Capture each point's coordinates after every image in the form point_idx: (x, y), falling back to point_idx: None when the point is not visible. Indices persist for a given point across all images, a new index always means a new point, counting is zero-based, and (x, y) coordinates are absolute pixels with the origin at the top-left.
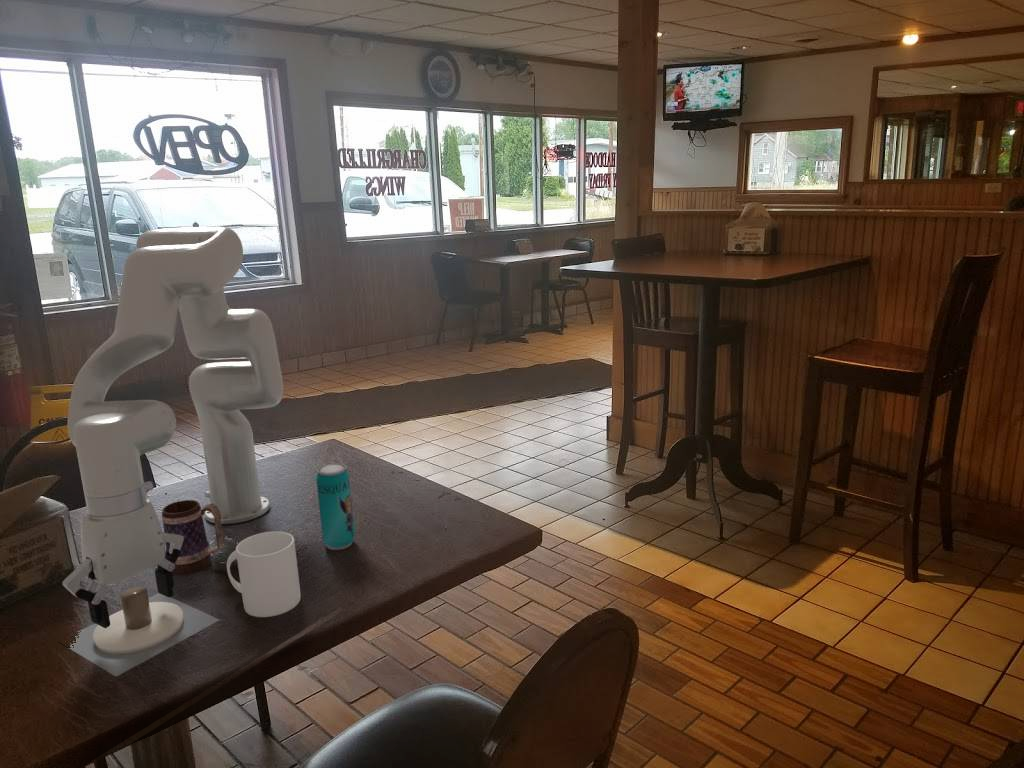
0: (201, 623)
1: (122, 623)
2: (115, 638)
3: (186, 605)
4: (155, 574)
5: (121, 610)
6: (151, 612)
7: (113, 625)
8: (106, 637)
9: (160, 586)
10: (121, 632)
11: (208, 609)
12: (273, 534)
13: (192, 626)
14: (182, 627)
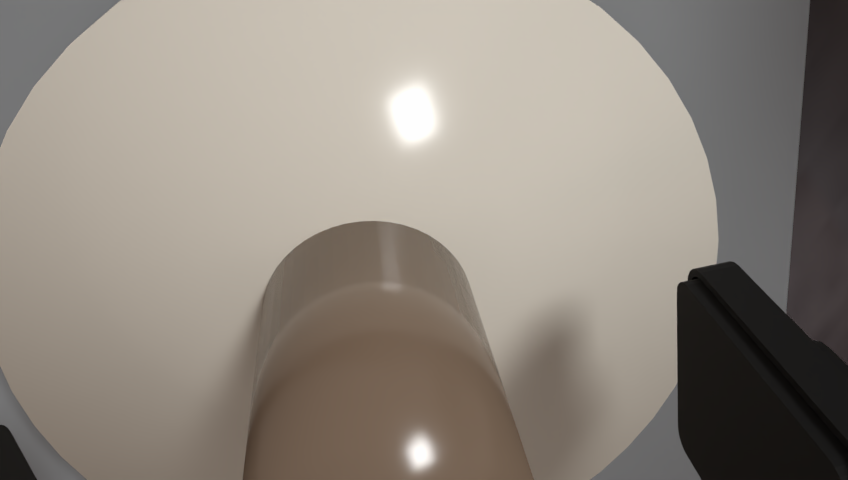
0: (683, 470)
1: (255, 223)
2: (147, 407)
3: (787, 174)
4: (807, 439)
5: None
6: (519, 216)
7: (178, 194)
8: (84, 350)
9: (721, 396)
10: (209, 353)
11: (841, 279)
12: None
13: (630, 465)
14: None
